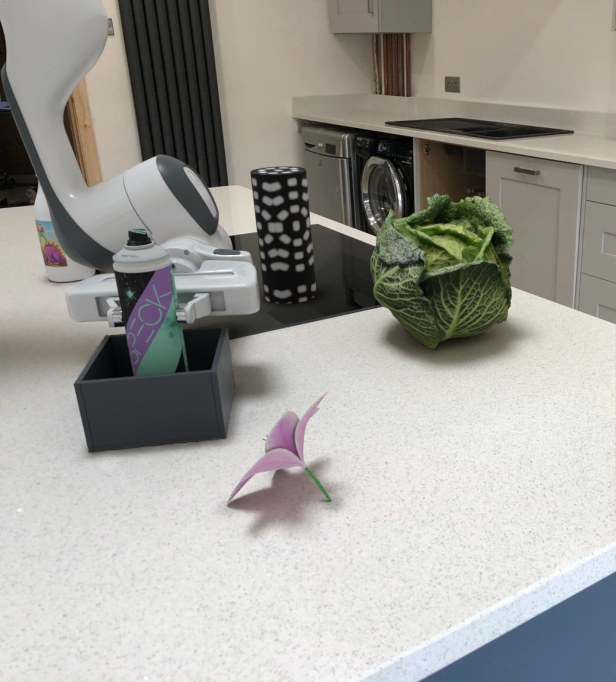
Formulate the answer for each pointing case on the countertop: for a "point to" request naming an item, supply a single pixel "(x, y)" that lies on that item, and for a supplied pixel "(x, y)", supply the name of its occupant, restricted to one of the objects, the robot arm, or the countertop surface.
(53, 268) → the milk bottle
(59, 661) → the countertop surface
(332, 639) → the countertop surface
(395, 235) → the vegetable
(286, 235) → the spotted tube
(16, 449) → the countertop surface
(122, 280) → the spray can
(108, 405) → the bin
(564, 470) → the countertop surface
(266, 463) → the lily
